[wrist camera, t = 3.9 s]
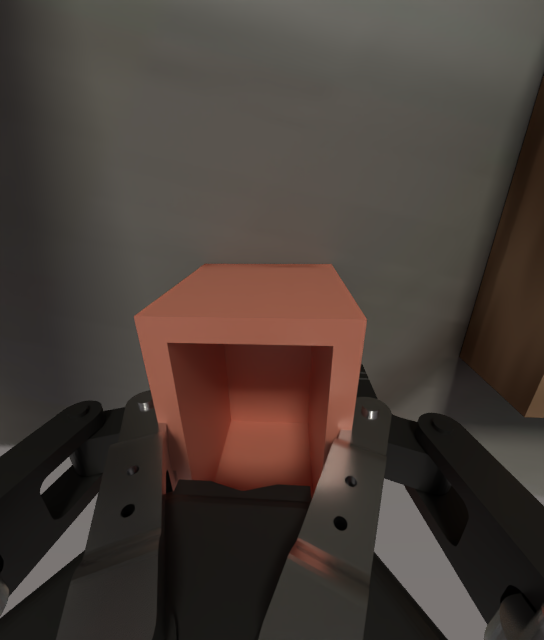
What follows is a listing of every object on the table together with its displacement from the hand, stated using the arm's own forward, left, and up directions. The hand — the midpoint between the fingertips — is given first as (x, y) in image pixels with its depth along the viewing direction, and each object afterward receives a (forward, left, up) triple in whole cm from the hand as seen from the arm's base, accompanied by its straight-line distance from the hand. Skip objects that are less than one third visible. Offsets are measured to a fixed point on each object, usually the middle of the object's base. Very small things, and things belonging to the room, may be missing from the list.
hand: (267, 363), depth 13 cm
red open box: (0, 0, -1) cm, 1 cm away
